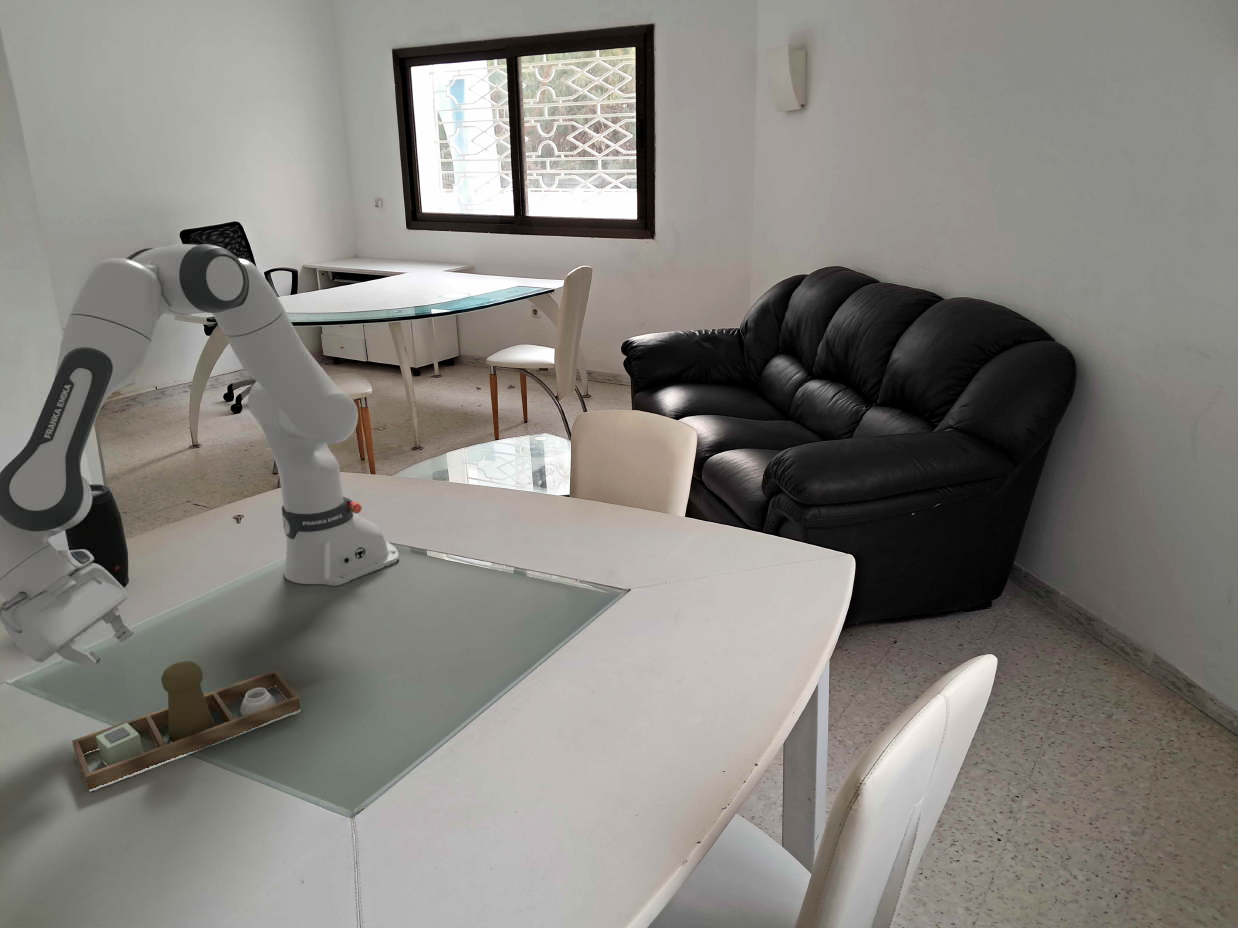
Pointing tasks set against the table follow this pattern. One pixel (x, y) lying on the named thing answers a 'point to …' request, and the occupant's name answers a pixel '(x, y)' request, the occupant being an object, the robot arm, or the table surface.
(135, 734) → the cube with grey panel
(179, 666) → the cork
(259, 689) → the lidless jar
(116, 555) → the portable speaker
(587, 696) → the table surface
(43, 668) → the table surface
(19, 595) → the robot arm
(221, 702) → the organiser
